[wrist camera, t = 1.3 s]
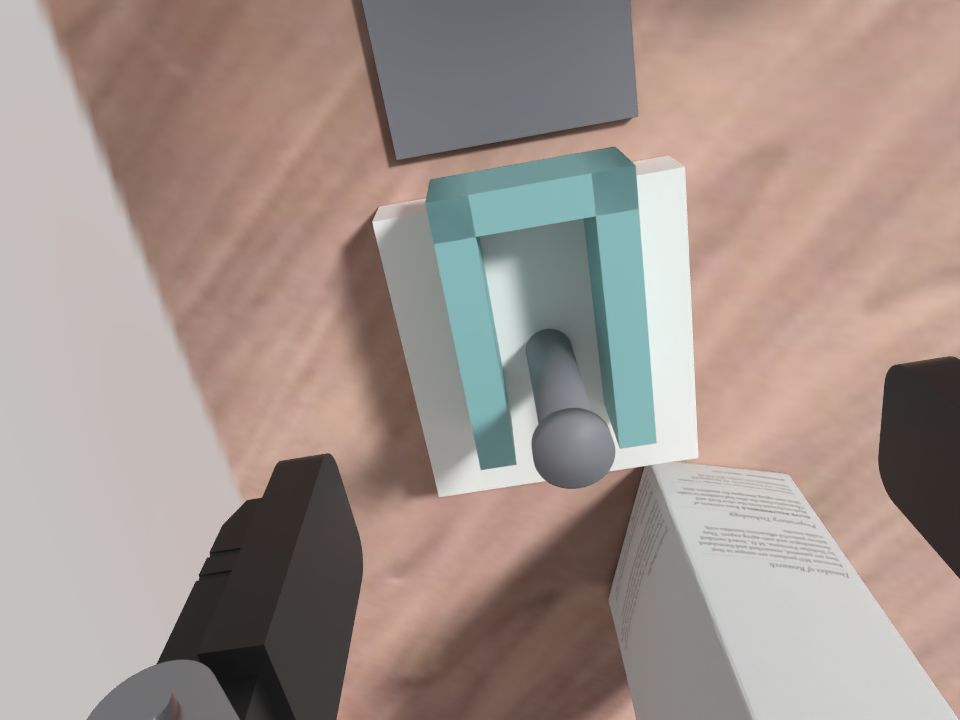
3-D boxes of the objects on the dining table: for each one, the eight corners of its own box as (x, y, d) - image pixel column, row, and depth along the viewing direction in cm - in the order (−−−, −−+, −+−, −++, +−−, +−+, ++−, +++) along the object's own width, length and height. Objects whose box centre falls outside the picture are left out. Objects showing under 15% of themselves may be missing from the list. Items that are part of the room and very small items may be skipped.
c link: (430, 179, 22) (425, 202, 20) (615, 146, 22) (635, 165, 19) (479, 423, 26) (480, 470, 24) (637, 398, 26) (656, 443, 23)
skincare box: (734, 613, 33) (926, 1047, 19) (595, 599, 33) (690, 1035, 19) (793, 464, 30) (1082, 866, 16) (638, 446, 29) (795, 846, 15)
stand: (379, 206, 25) (339, 295, 17) (668, 155, 24) (763, 223, 16) (440, 467, 30) (431, 629, 22) (683, 430, 29) (763, 582, 21)
